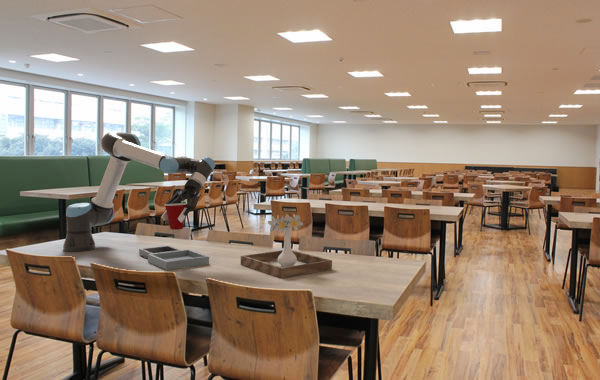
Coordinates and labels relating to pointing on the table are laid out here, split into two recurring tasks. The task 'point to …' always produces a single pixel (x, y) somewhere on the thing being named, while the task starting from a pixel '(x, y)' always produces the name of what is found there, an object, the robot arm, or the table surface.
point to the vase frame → (313, 266)
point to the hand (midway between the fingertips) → (171, 219)
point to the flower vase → (286, 237)
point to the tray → (178, 259)
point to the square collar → (156, 250)
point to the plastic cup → (175, 215)
